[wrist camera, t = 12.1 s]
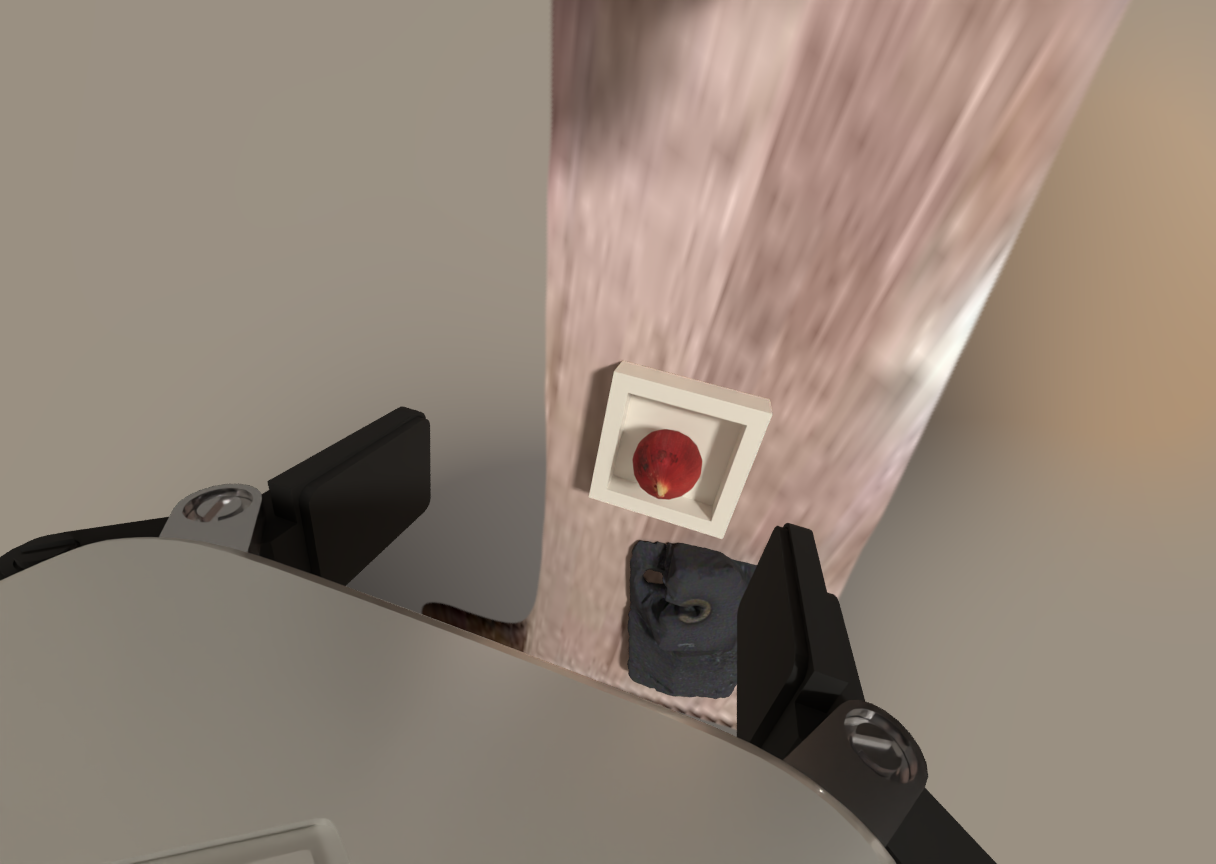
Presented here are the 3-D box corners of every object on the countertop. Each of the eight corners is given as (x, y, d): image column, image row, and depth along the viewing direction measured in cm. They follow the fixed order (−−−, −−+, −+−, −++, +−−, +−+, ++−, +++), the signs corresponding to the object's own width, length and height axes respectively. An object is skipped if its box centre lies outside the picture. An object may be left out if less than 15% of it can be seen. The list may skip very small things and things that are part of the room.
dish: (622, 360, 40) (613, 371, 37) (769, 399, 38) (772, 413, 35) (597, 480, 46) (588, 497, 43) (723, 518, 44) (722, 539, 41)
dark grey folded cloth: (613, 660, 57) (604, 695, 53) (637, 526, 47) (627, 555, 43) (734, 697, 55) (734, 737, 51) (786, 563, 45) (791, 598, 41)
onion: (629, 440, 42) (607, 484, 35) (673, 402, 39) (659, 443, 32) (671, 482, 43) (658, 534, 36) (718, 448, 40) (713, 497, 33)
